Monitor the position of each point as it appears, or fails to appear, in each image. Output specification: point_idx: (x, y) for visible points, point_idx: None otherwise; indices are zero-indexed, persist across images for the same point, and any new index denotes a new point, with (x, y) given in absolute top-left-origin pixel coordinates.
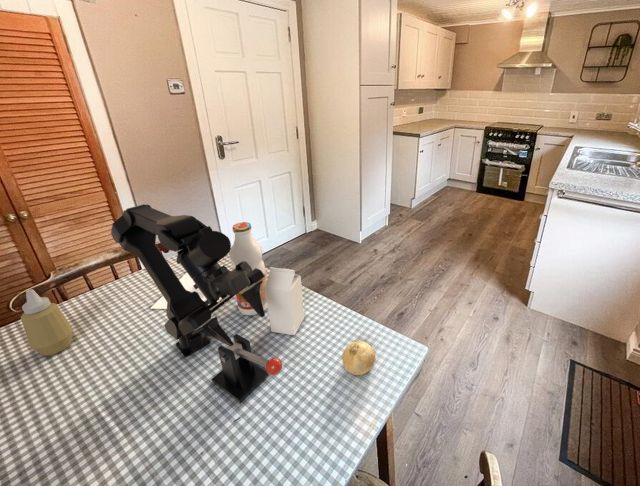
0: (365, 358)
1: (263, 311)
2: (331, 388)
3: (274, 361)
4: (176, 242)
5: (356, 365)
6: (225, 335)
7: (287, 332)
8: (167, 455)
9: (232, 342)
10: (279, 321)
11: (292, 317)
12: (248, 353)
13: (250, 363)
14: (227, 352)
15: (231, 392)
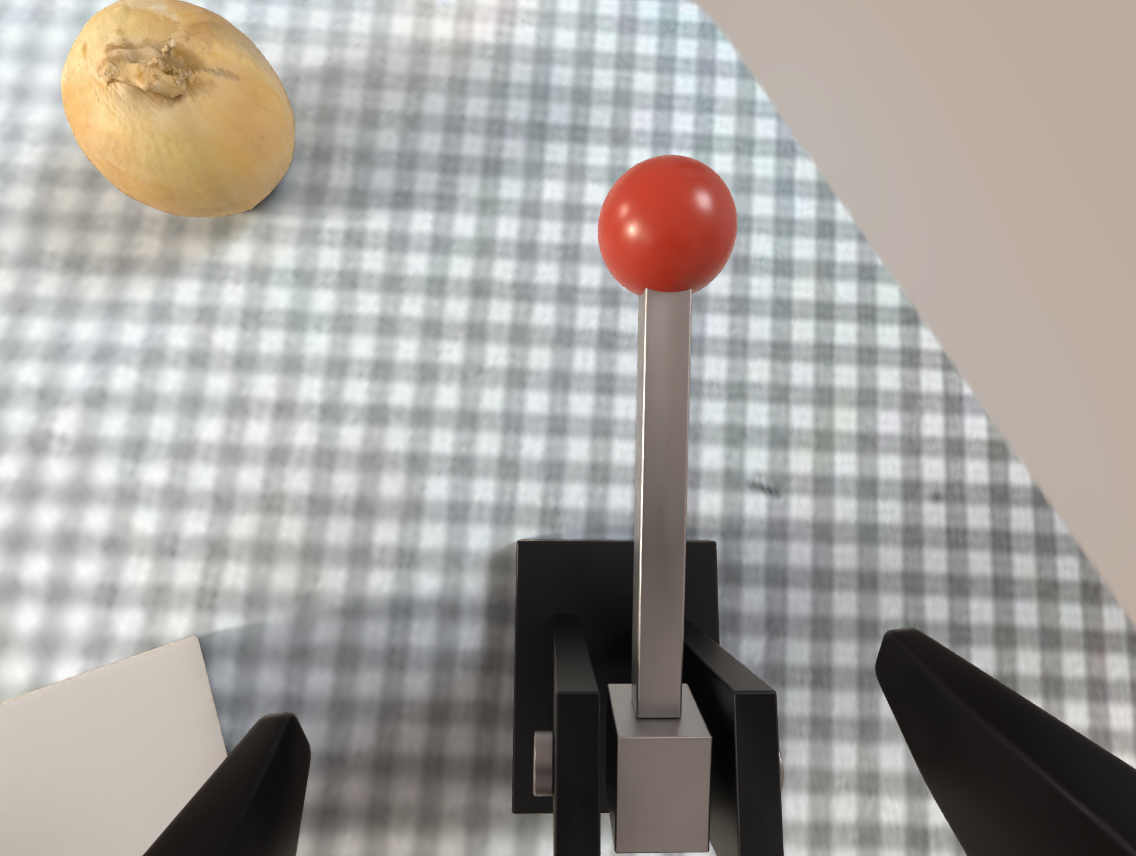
0: (186, 5)
1: (228, 769)
2: (408, 209)
3: (679, 180)
4: None
5: (252, 59)
6: (1092, 773)
7: (199, 689)
8: (1030, 620)
9: (916, 648)
10: (148, 787)
11: (64, 683)
12: (653, 581)
13: (578, 632)
14: (763, 759)
15: (712, 621)
